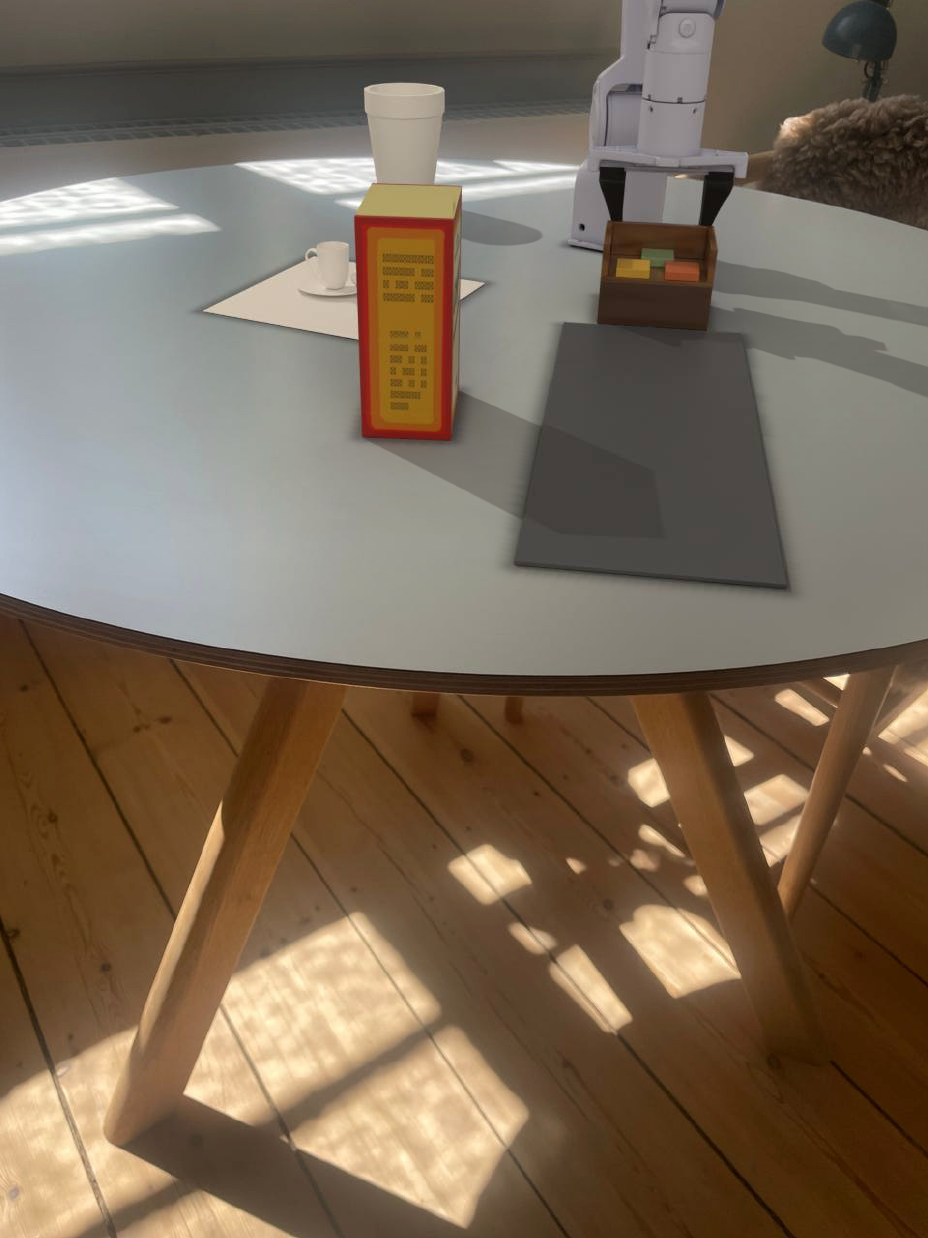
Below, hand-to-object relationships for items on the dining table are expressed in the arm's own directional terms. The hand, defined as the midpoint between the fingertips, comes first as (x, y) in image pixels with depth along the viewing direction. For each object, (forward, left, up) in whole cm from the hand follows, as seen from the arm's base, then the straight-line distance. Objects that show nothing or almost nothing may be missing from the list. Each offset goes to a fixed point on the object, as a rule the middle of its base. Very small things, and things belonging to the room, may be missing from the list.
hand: (657, 252), depth 108 cm
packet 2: (+5, -6, 0) cm, 8 cm away
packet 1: (+1, -8, 0) cm, 8 cm away
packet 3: (+2, -4, 0) cm, 4 cm away
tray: (+2, -4, 0) cm, 4 cm away
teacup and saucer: (-24, -18, -4) cm, 30 cm away
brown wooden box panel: (+2, -5, -4) cm, 7 cm away
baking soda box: (-3, -37, -4) cm, 37 cm away
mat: (+13, -29, -4) cm, 32 cm away
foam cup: (-40, +14, -4) cm, 43 cm away
